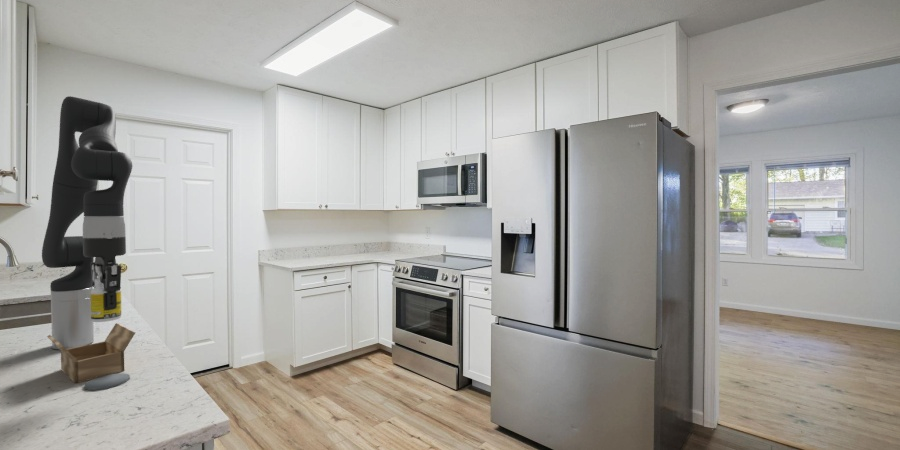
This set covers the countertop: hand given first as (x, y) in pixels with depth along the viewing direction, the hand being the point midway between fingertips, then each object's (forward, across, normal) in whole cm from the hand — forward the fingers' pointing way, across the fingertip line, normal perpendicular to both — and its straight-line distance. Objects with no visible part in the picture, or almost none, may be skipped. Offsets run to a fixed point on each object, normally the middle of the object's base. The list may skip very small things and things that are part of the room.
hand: (106, 307), depth 92 cm
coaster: (+18, 0, 0) cm, 18 cm away
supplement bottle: (+3, 0, 0) cm, 3 cm away
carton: (+18, -13, 0) cm, 22 cm away
